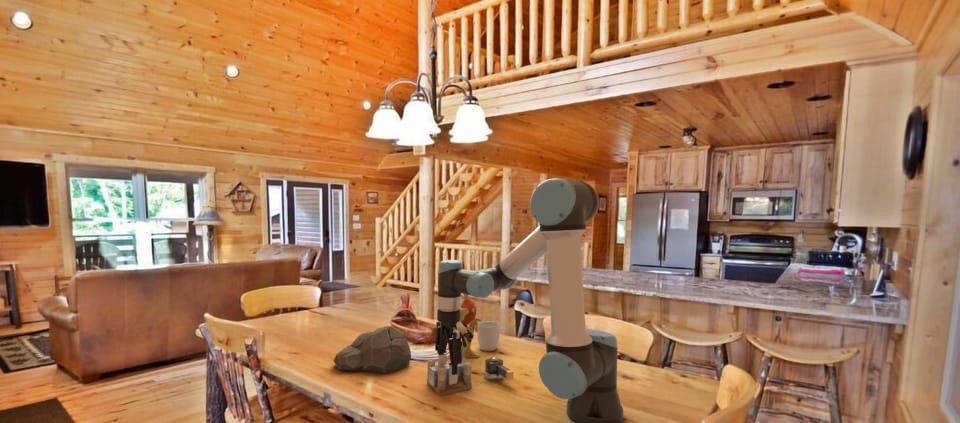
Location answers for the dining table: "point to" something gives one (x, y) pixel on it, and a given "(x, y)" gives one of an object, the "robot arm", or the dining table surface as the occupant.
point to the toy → (467, 332)
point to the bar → (434, 373)
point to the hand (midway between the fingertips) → (447, 378)
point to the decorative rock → (376, 352)
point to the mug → (488, 335)
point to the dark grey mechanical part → (498, 368)
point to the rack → (447, 389)
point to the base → (493, 376)
